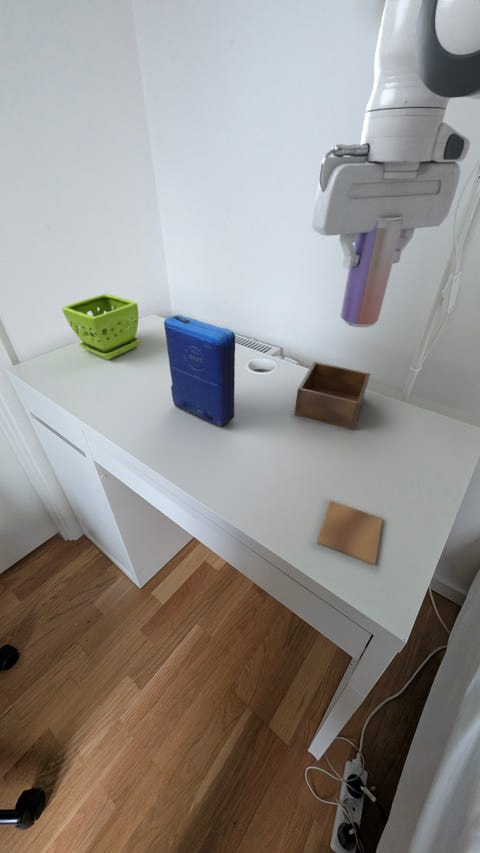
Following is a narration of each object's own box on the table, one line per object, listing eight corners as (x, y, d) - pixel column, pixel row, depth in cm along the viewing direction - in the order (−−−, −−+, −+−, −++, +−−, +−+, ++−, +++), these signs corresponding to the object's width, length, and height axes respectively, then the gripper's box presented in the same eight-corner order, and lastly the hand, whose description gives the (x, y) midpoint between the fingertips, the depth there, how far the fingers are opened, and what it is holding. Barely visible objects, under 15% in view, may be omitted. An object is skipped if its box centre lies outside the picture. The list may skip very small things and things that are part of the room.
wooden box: (363, 398, 77) (370, 373, 72) (353, 430, 68) (360, 404, 64) (310, 385, 81) (313, 361, 76) (294, 414, 72) (297, 388, 68)
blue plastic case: (170, 407, 74) (155, 318, 61) (186, 396, 77) (176, 309, 64) (222, 432, 67) (218, 338, 54) (237, 419, 71) (237, 327, 58)
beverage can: (336, 325, 55) (356, 217, 45) (343, 312, 59) (361, 211, 49) (375, 330, 53) (403, 219, 43) (378, 317, 57) (405, 212, 48)
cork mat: (381, 520, 51) (382, 518, 51) (374, 565, 46) (375, 563, 46) (329, 502, 54) (330, 500, 54) (317, 543, 48) (317, 541, 48)
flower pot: (147, 346, 96) (138, 302, 88) (106, 366, 87) (93, 319, 79) (115, 334, 102) (104, 291, 94) (74, 351, 93) (59, 306, 85)
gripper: (338, 143, 37) (320, 278, 45) (481, 142, 42) (440, 263, 51) (310, 144, 41) (298, 266, 50) (441, 143, 46) (410, 254, 55)
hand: (370, 264), depth 50 cm, fingers closed on beverage can, 6 cm apart
